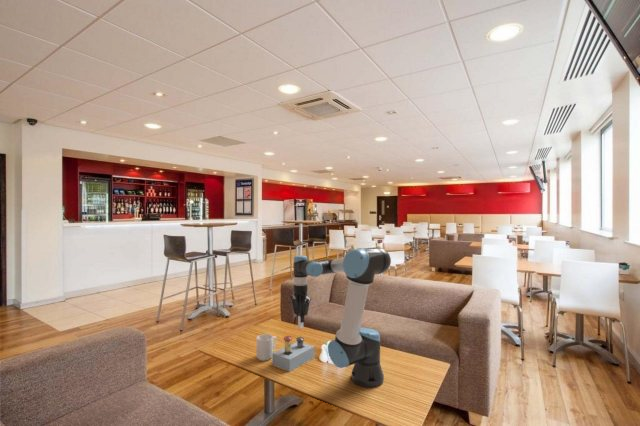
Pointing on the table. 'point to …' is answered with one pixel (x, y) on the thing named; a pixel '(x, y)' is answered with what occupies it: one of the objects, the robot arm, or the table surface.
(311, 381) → the table surface
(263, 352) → the mug
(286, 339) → the brass plug
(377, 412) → the table surface
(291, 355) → the block
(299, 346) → the dark plug
